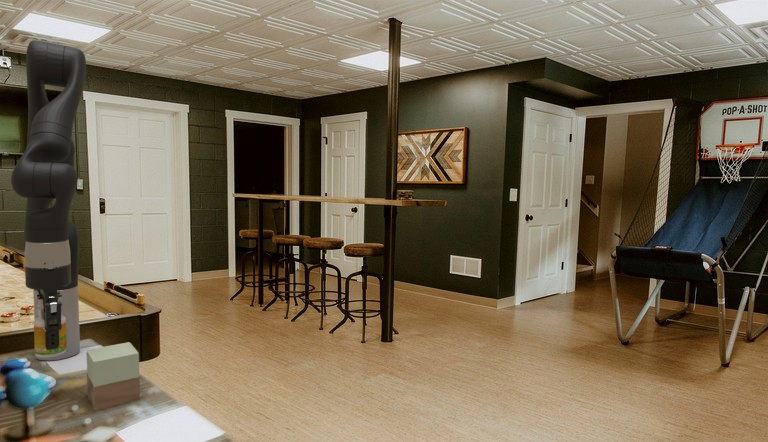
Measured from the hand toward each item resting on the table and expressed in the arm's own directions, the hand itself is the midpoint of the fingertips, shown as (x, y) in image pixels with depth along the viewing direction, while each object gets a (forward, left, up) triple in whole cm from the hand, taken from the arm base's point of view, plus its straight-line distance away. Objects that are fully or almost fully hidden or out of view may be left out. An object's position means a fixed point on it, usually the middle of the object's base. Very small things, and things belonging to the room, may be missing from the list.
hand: (50, 343), depth 98 cm
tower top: (+8, +10, -6) cm, 14 cm away
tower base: (+8, +9, -11) cm, 17 cm away
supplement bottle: (0, 0, -2) cm, 2 cm away
